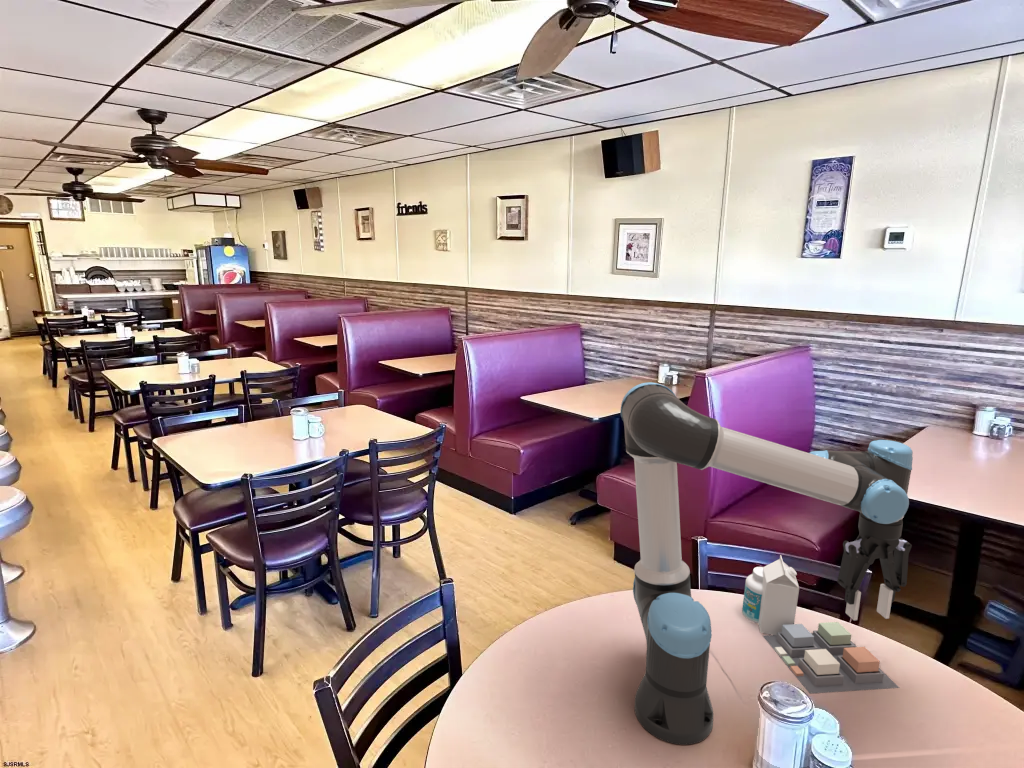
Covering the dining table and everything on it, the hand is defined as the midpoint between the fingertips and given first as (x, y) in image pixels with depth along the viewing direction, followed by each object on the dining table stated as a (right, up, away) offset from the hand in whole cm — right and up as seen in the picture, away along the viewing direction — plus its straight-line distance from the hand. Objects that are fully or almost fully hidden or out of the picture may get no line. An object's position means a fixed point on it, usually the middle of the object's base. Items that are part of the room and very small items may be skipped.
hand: (867, 615), depth 121 cm
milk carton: (-11, -12, +19) cm, 25 cm away
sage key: (-1, -10, +11) cm, 15 cm away
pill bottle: (-13, -11, +24) cm, 29 cm away
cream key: (-9, -12, +2) cm, 15 cm away
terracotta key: (0, -12, +2) cm, 12 cm away
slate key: (-10, -10, +10) cm, 17 cm away
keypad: (-5, -14, +7) cm, 16 cm away
